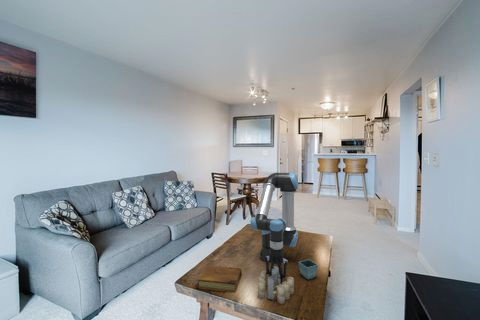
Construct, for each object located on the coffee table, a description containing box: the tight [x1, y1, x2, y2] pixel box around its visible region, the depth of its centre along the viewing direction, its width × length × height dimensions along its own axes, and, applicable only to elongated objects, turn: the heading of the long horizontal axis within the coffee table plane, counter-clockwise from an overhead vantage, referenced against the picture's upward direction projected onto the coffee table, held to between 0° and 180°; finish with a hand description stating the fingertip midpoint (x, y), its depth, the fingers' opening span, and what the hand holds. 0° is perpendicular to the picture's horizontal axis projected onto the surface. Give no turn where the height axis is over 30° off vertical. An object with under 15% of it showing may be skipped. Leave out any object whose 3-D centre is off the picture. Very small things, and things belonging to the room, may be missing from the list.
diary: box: [196, 265, 243, 293], centre depth 144 cm, size 23×19×6 cm
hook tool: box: [267, 265, 280, 301], centre depth 131 cm, size 13×4×12 cm, turn 155°
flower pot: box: [298, 259, 319, 280], centre depth 150 cm, size 9×9×9 cm
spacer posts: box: [257, 270, 295, 305], centre depth 131 cm, size 14×20×8 cm
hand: (276, 287), depth 135 cm, fingers closed on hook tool, 4 cm apart
